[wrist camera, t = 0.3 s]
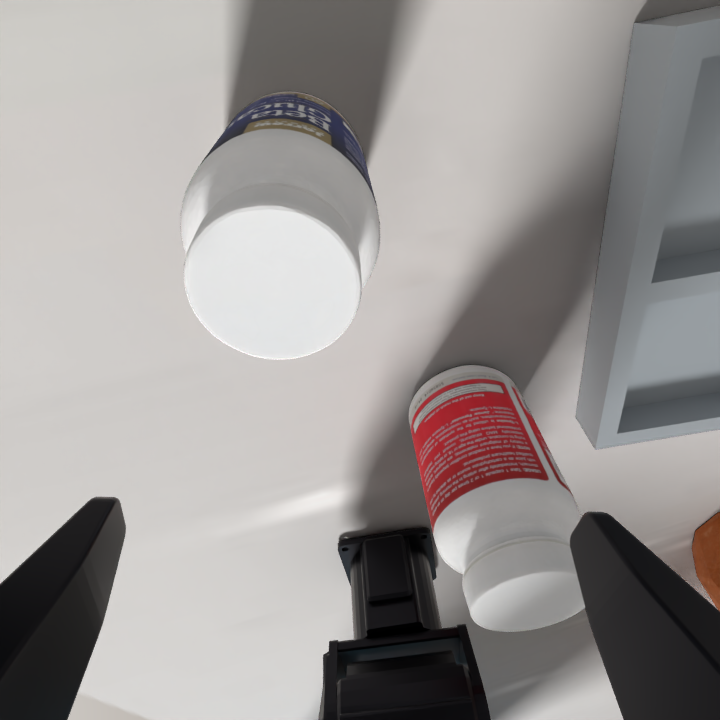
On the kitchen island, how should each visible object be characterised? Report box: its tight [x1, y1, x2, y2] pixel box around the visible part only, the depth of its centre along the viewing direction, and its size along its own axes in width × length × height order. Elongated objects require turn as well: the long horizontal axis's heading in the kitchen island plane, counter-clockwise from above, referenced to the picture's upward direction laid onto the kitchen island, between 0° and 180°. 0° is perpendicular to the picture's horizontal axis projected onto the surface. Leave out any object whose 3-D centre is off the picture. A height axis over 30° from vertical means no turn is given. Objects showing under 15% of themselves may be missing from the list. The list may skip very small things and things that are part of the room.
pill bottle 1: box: [180, 91, 380, 360], centre depth 15 cm, size 5×5×10 cm
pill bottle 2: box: [409, 365, 585, 632], centre depth 22 cm, size 6×6×11 cm
